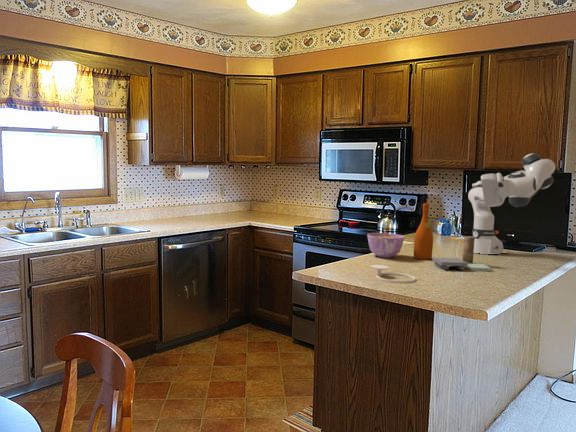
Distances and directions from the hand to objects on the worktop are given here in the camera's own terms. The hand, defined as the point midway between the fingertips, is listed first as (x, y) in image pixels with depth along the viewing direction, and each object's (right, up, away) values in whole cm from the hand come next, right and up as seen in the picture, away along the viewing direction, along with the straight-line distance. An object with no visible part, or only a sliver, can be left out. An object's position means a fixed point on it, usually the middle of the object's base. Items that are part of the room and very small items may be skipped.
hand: (473, 192), depth 260 cm
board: (-4, -39, -16) cm, 42 cm away
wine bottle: (-25, -36, +7) cm, 44 cm away
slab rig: (-18, -38, -17) cm, 45 cm away
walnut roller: (-5, -37, -5) cm, 38 cm away
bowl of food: (-45, -35, +9) cm, 58 cm away
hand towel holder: (-52, -40, -43) cm, 79 cm away
